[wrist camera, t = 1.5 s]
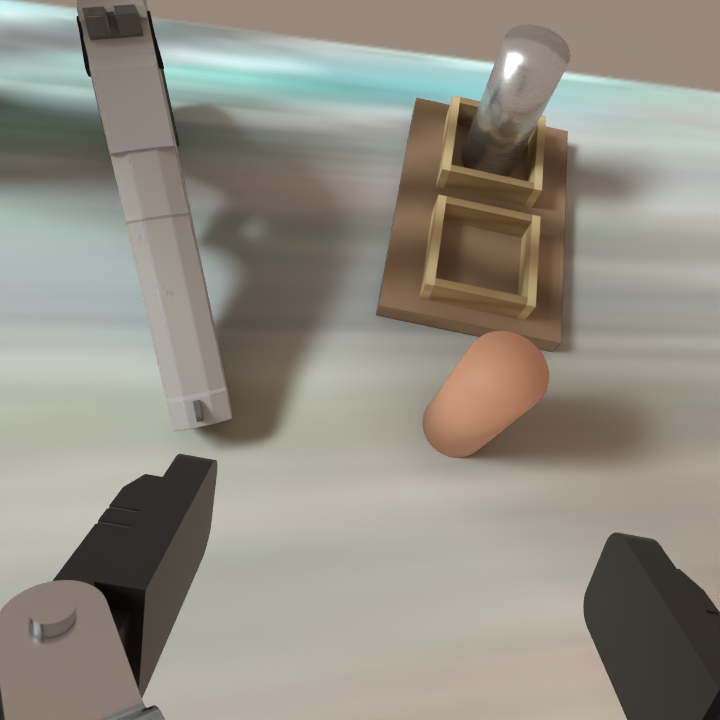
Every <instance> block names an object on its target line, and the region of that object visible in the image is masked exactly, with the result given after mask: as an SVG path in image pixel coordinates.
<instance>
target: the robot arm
mask: <svg viewBox="0 0 720 720" xmlns="http://www.w3.org/2000/svg"><path fill="white" fill-rule="evenodd" d="M216 476H217V461H216V460H212V459H206V458H201V457H195V456H190V455H184V454H178V455H177V456H176V458H175V459H174V461H173V462H172V464H171V465H170V467H169V468H168V470H167V471H166V473H165V474H164V476H163V477H159V476H153V475H148V474H145V475H143V476H141V477H140V478H138V479H136V480H135V481H133V482H131V483H130V484H128V485H126V486H124V487H123V488H122V489H121V491H120V492H119V493H118V495H117V496H116V497H115V499H114V500H113V501H112V503H111V504H110V507H109V509H106V511H105V512H104V513H103V515H102V516H101V517H100V519H99V520H98V524H95V525H94V527H93V528H92V529H91V531H90V532H89V533H88V535H87V536H86V537H85V539H84V540H83V541H82V543H81V544H80V545H79V547H78V548H77V549H76V550H75V552H74V553H73V554H72V556H71V557H70V558H69V560H68V561H67V562H66V564H65V565H64V566H63V568H62V569H61V570H60V572H59V573H58V574H57V576H56V577H55V578H54V580H53V581H51V582H47V583H43V584H40V585H36V586H34V587H32V588H29V589H27V590H25V591H23V592H22V593H20V594H18V595H17V596H15V597H14V598H13V599H11V600H10V601H9V602H8V603H7V604H6V605H5V606H4V607H3V608H2V609H1V611H0V720H165V718H164V716H163V715H162V713H161V711H160V710H159V708H158V707H157V706H155V705H154V706H151V707H148V708H146V707H145V705H144V703H143V701H142V697H143V695H144V693H145V690H146V688H147V686H148V683H149V681H150V679H151V676H152V674H153V672H154V669H155V667H156V665H157V662H158V660H159V658H160V655H161V653H162V651H163V648H164V646H165V644H166V641H167V639H168V637H169V635H170V632H171V630H172V628H173V625H174V623H175V621H176V618H177V616H178V614H179V611H180V609H181V607H182V604H183V602H184V600H185V597H186V595H187V593H188V590H189V588H190V586H191V583H192V581H193V579H194V576H195V574H196V572H197V569H198V567H199V565H200V563H201V560H202V558H203V555H204V552H205V549H206V546H207V542H208V538H209V534H210V528H211V521H212V512H213V503H214V494H215V485H216ZM584 618H585V622H586V625H587V628H588V630H589V632H590V634H591V637H592V639H593V641H594V644H595V646H596V648H597V651H598V653H599V655H600V658H601V660H602V662H603V664H604V667H605V669H606V671H607V674H608V676H609V678H610V681H611V683H612V685H613V688H614V690H615V692H616V694H617V697H618V699H619V701H620V704H621V706H622V708H623V711H624V713H625V715H626V718H627V720H720V612H719V611H718V609H717V608H716V606H715V605H714V604H713V602H712V601H711V600H710V598H709V597H708V596H707V594H706V593H705V591H704V590H703V589H702V588H700V587H699V586H698V585H697V584H696V583H695V582H693V581H692V580H691V579H690V578H689V577H688V576H687V575H685V574H684V573H683V572H682V571H681V570H680V569H676V567H675V566H674V564H673V563H672V562H671V560H670V559H669V557H668V556H667V555H666V553H665V552H664V550H663V549H662V547H661V546H660V545H659V543H658V542H657V541H655V540H654V539H650V538H645V537H639V536H633V535H628V534H622V533H613V534H611V535H610V536H609V538H608V539H607V541H606V544H605V546H604V548H603V551H602V553H601V556H600V558H599V561H598V563H597V565H596V568H595V570H594V573H593V575H592V577H591V580H590V582H589V585H588V587H587V590H586V593H585V597H584Z"/></svg>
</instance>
